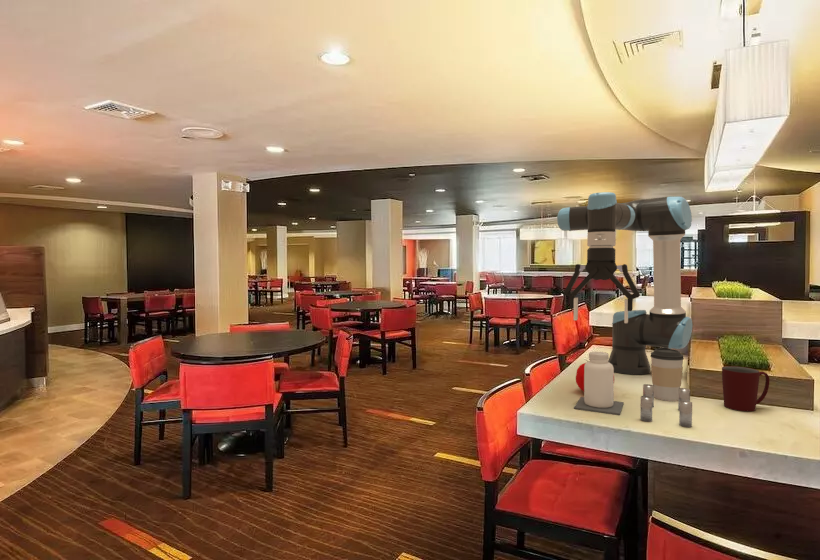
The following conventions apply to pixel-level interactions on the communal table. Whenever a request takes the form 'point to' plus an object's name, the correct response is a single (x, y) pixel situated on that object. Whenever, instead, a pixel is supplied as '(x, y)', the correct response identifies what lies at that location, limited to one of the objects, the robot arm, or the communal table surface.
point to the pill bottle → (599, 381)
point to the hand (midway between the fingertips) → (600, 321)
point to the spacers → (683, 405)
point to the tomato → (580, 377)
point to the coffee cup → (666, 373)
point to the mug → (742, 387)
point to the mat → (610, 410)
